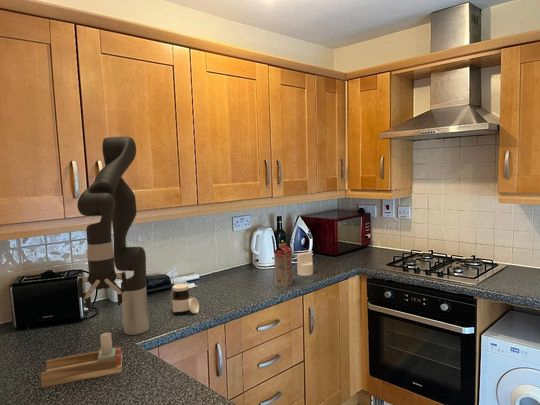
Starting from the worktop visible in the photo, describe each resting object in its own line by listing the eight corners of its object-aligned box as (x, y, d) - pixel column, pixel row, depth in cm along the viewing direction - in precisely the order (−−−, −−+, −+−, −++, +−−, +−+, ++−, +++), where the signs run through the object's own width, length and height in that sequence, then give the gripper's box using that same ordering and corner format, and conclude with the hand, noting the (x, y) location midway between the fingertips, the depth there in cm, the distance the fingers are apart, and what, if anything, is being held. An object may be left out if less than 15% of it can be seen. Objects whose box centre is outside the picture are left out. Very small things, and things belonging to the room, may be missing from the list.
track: (48, 371, 123) (47, 357, 123) (122, 357, 131) (121, 344, 130) (41, 387, 114) (40, 373, 114) (121, 371, 121) (120, 358, 121)
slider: (99, 359, 126) (97, 332, 126) (116, 356, 128) (114, 329, 127) (98, 367, 121) (96, 339, 120) (115, 364, 123) (113, 337, 122)
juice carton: (275, 285, 206) (274, 244, 204) (282, 281, 211) (280, 242, 209) (286, 287, 202) (284, 245, 200) (292, 283, 208) (291, 243, 206)
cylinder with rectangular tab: (307, 270, 232) (306, 251, 231) (316, 274, 225) (315, 253, 224) (294, 273, 228) (293, 253, 227) (303, 276, 220) (302, 255, 219)
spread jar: (172, 308, 176) (171, 283, 175) (198, 305, 179) (196, 281, 178) (173, 318, 164) (171, 291, 163) (200, 315, 167) (198, 288, 166)
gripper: (125, 251, 127) (128, 300, 129) (77, 256, 123) (81, 306, 124) (125, 256, 120) (128, 307, 122) (74, 262, 116) (78, 314, 117)
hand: (104, 307), depth 123 cm, fingers open, 8 cm apart
